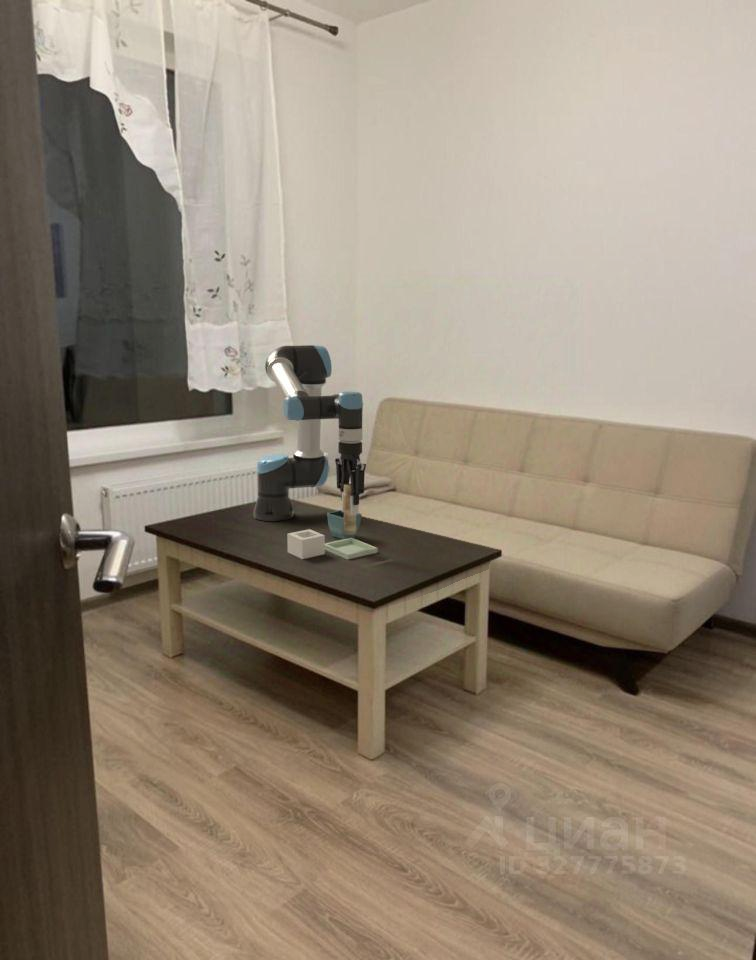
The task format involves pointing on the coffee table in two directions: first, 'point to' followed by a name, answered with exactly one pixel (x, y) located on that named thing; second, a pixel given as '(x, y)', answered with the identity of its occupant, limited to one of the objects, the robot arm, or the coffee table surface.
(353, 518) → the dowel
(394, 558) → the coffee table surface
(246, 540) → the coffee table surface
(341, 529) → the flower pot
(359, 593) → the coffee table surface
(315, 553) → the hollow block
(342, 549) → the tray
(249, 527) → the coffee table surface
